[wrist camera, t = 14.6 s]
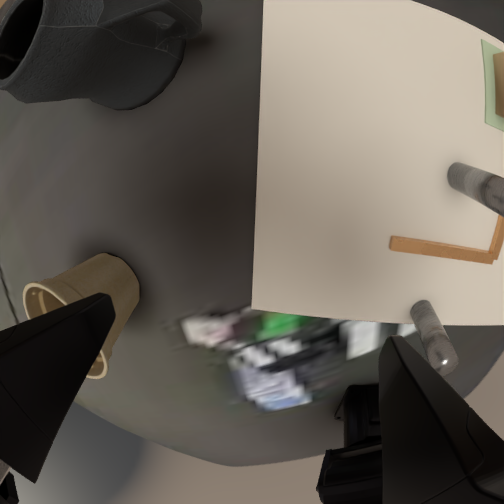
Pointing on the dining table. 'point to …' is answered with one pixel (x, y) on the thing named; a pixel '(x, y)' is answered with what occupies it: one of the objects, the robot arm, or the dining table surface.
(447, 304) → the course mat
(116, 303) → the flower pot
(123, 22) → the dark grey holder
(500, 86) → the oak open box
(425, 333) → the wire and posts
